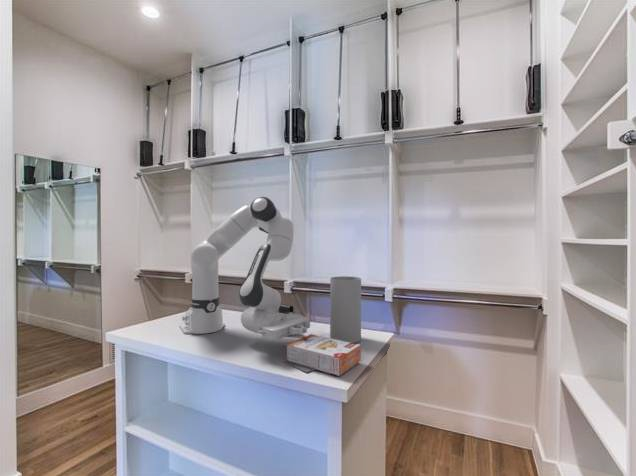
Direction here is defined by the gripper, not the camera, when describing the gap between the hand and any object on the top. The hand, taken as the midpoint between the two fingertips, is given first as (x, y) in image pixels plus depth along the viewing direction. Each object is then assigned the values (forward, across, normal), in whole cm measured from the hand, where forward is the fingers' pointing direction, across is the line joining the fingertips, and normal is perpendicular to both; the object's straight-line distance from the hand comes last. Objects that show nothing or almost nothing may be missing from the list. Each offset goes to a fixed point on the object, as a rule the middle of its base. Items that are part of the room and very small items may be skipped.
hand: (304, 331), depth 112 cm
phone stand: (-24, +18, +9) cm, 32 cm away
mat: (+4, -1, +9) cm, 10 cm away
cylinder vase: (+1, +25, +9) cm, 27 cm away
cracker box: (-2, 0, +6) cm, 6 cm away
